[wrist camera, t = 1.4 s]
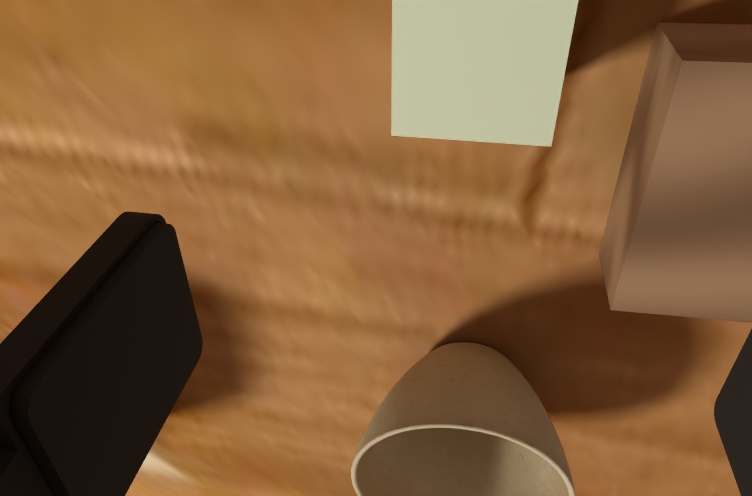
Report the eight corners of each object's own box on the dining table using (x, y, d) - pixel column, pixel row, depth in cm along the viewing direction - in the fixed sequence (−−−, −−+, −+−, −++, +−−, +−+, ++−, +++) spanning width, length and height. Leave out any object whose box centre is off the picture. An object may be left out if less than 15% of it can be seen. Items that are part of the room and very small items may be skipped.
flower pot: (399, 283, 29) (375, 399, 24) (595, 338, 30) (616, 466, 24) (360, 403, 36) (333, 518, 30) (521, 448, 36) (525, 571, 30)
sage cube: (414, -68, 20) (392, -33, 16) (567, -65, 19) (583, -27, 15) (410, 76, 23) (391, 135, 19) (543, 83, 22) (551, 146, 19)
